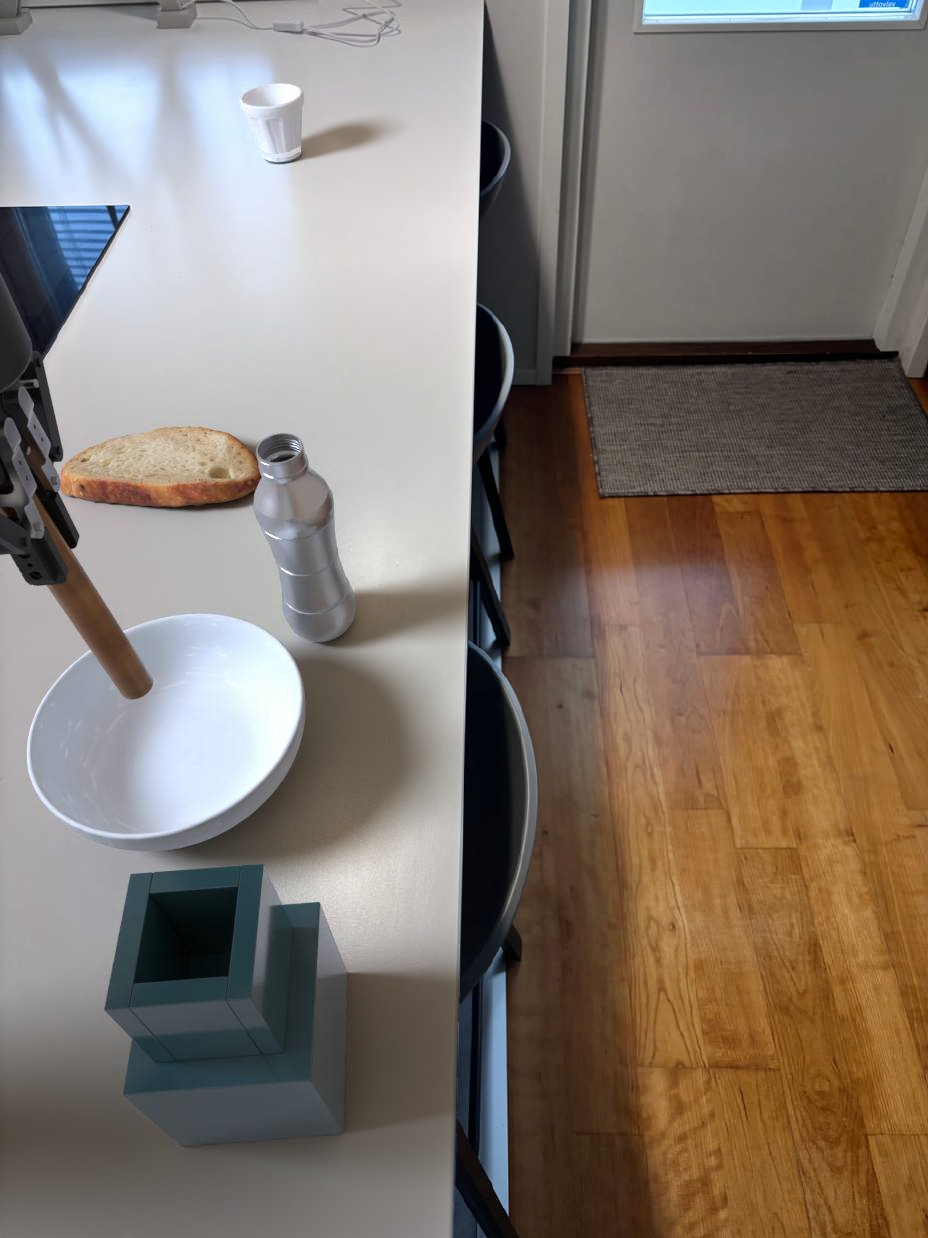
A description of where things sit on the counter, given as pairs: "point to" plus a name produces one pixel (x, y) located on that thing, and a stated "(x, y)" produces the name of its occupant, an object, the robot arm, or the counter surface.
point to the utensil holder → (229, 1008)
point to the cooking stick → (94, 618)
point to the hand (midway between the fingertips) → (55, 562)
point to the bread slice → (163, 469)
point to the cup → (275, 118)
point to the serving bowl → (170, 735)
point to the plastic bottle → (302, 540)
